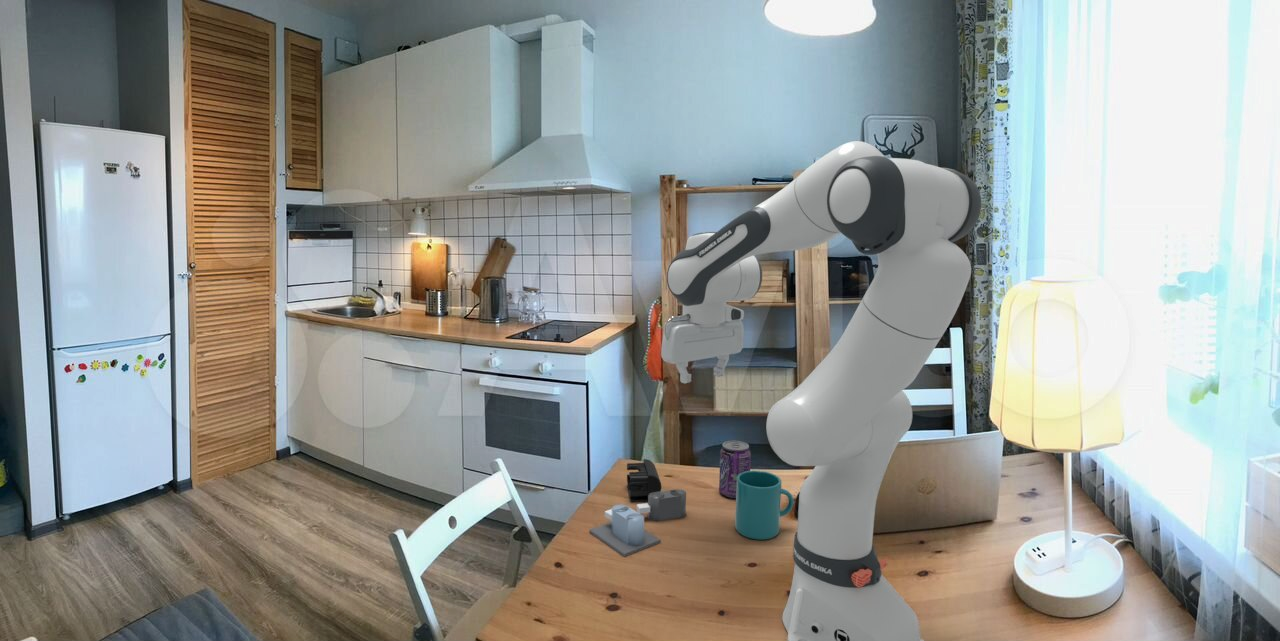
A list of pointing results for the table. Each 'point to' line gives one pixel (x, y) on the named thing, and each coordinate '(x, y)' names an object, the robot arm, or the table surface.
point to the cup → (759, 504)
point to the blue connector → (627, 524)
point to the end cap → (642, 481)
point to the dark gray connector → (664, 505)
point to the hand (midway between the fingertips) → (702, 379)
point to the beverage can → (733, 465)
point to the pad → (619, 545)
